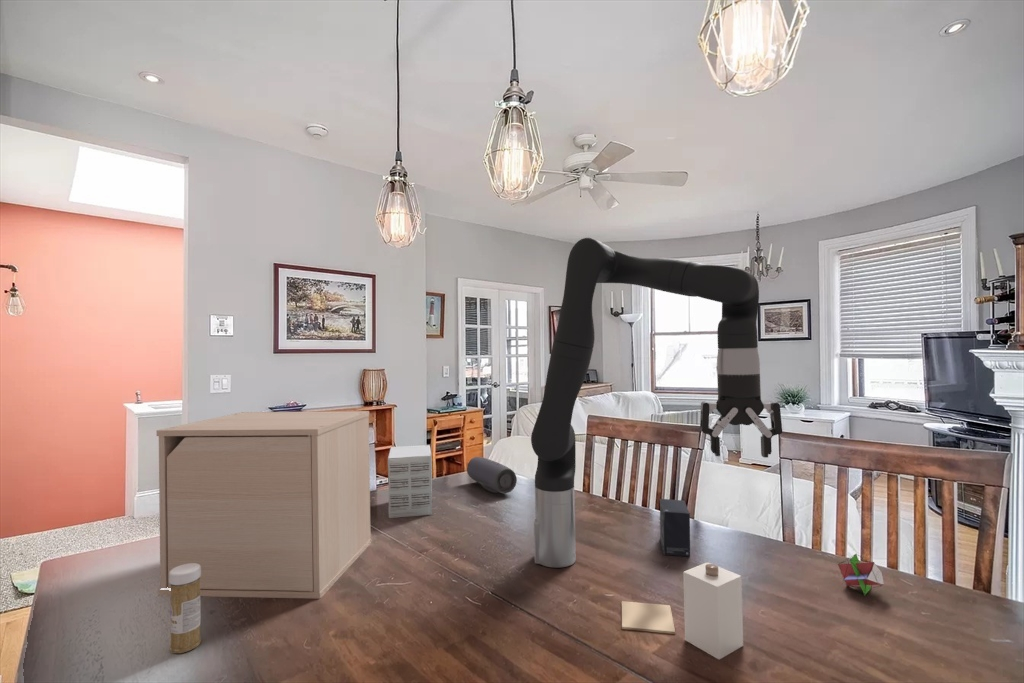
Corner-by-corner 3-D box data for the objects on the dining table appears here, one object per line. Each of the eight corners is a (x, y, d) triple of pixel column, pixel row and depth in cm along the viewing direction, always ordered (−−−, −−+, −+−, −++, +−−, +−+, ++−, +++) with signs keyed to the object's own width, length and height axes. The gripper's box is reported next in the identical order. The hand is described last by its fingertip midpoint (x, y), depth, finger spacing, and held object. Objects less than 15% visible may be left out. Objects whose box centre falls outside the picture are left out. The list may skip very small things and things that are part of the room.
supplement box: (391, 501, 165) (390, 446, 166) (431, 498, 168) (430, 444, 168) (387, 518, 148) (386, 457, 148) (432, 515, 151) (431, 455, 151)
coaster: (621, 628, 88) (621, 626, 88) (621, 603, 97) (621, 601, 97) (675, 634, 86) (675, 631, 86) (670, 607, 95) (670, 605, 95)
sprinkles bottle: (166, 648, 85) (165, 568, 85) (196, 635, 89) (195, 559, 89) (175, 658, 82) (174, 576, 82) (205, 645, 86) (204, 566, 86)
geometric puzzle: (824, 575, 102) (851, 551, 98) (836, 565, 107) (862, 542, 103) (858, 607, 98) (887, 583, 94) (868, 595, 102) (897, 572, 98)
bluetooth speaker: (518, 494, 170) (518, 465, 170) (494, 499, 165) (494, 469, 165) (488, 480, 189) (487, 453, 190) (465, 483, 185) (465, 456, 185)
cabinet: (158, 595, 104) (156, 430, 104) (243, 541, 133) (242, 412, 133) (320, 598, 101) (317, 428, 102) (371, 542, 130) (369, 410, 130)
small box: (692, 557, 117) (691, 512, 117) (663, 555, 118) (662, 511, 119) (685, 540, 128) (684, 499, 128) (659, 538, 129) (658, 498, 129)
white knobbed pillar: (719, 659, 79) (717, 579, 79) (684, 639, 84) (683, 564, 85) (743, 645, 83) (741, 568, 83) (708, 627, 88) (707, 555, 88)
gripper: (702, 373, 94) (704, 459, 94) (784, 372, 91) (787, 461, 91) (696, 371, 101) (698, 451, 101) (772, 370, 98) (775, 452, 98)
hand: (740, 456), depth 96 cm, fingers open, 8 cm apart
